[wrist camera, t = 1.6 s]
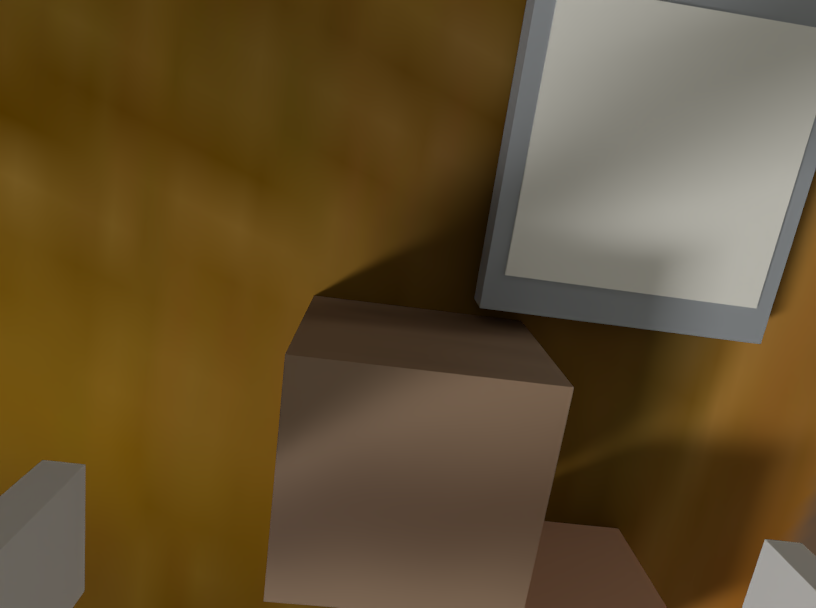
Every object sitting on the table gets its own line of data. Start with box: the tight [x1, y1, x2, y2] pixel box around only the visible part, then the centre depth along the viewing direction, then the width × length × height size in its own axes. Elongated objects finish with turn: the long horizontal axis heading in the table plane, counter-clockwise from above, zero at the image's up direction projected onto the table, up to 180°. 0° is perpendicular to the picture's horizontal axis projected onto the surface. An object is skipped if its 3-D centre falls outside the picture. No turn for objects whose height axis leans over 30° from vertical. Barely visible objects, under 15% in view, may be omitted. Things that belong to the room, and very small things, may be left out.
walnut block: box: [264, 296, 574, 608], centre depth 15 cm, size 6×6×5 cm
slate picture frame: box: [474, 0, 816, 344], centre depth 15 cm, size 9×8×1 cm
